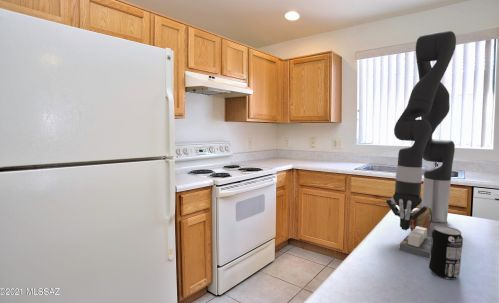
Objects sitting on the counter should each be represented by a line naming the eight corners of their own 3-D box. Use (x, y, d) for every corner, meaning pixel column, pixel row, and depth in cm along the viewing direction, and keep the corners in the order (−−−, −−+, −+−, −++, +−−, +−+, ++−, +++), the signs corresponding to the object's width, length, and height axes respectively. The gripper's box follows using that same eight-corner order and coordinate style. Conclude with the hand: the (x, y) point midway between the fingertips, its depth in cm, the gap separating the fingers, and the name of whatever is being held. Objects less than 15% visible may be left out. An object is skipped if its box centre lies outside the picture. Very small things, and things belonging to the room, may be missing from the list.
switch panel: (409, 238, 95) (410, 232, 95) (452, 249, 87) (453, 242, 87) (398, 250, 86) (399, 243, 86) (445, 263, 78) (446, 256, 77)
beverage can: (430, 264, 77) (433, 223, 76) (459, 272, 73) (464, 229, 72) (427, 274, 72) (430, 229, 71) (458, 283, 68) (463, 236, 67)
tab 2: (413, 238, 90) (413, 229, 90) (423, 240, 88) (424, 231, 88) (411, 240, 88) (411, 231, 88) (421, 243, 86) (422, 233, 86)
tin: (417, 237, 96) (418, 213, 95) (407, 234, 99) (409, 211, 98) (432, 227, 106) (434, 206, 105) (422, 225, 108) (424, 204, 107)
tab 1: (415, 234, 93) (416, 226, 92) (426, 237, 91) (427, 228, 90) (414, 236, 91) (414, 227, 91) (424, 239, 89) (425, 230, 89)
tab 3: (409, 241, 87) (410, 232, 87) (420, 244, 85) (421, 235, 85) (407, 244, 85) (408, 234, 85) (418, 247, 83) (419, 237, 83)
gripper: (434, 180, 90) (429, 231, 92) (390, 175, 99) (387, 221, 101) (429, 184, 85) (424, 238, 87) (383, 177, 94) (380, 226, 96)
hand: (404, 229), depth 94 cm, fingers closed
